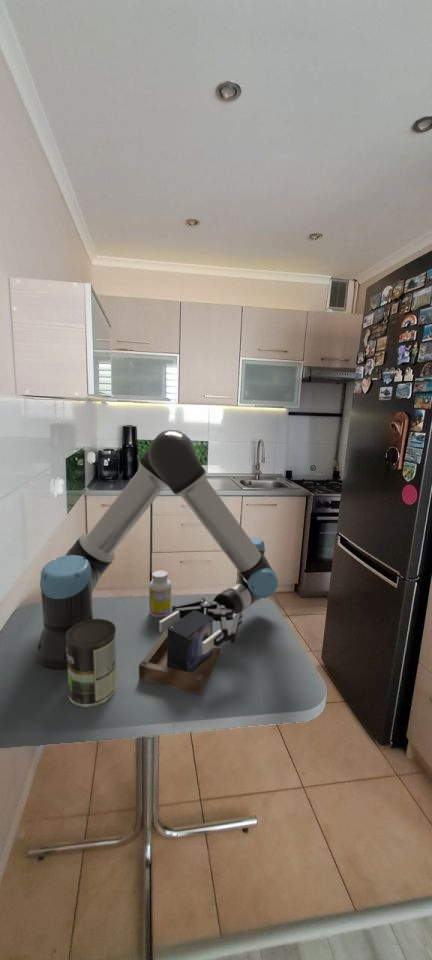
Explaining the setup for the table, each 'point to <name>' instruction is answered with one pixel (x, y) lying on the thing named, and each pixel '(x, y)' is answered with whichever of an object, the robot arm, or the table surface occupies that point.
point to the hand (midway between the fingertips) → (180, 637)
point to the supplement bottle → (160, 594)
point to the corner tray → (159, 673)
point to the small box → (188, 641)
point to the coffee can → (91, 662)
